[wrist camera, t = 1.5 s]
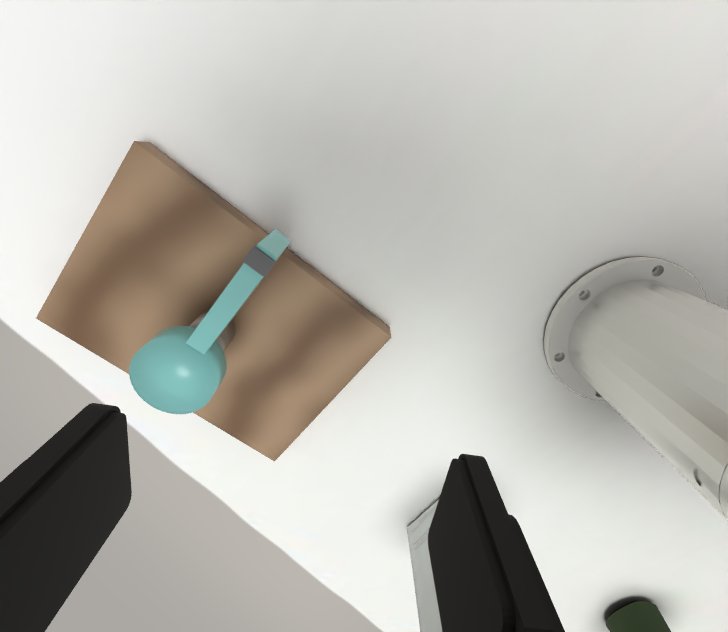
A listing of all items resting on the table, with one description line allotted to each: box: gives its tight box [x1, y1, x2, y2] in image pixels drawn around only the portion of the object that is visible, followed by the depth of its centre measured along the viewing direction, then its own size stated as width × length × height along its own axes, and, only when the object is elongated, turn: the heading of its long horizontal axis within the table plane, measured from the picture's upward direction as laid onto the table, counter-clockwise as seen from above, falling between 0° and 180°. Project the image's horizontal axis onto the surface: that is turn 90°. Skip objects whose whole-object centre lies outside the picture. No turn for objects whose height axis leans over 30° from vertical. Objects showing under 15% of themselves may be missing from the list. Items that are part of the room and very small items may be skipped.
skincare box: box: [407, 499, 442, 632], centre depth 34 cm, size 8×6×15 cm
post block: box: [36, 141, 391, 461], centre depth 29 cm, size 22×16×7 cm
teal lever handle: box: [129, 229, 291, 414], centre depth 24 cm, size 12×5×5 cm, turn 140°
